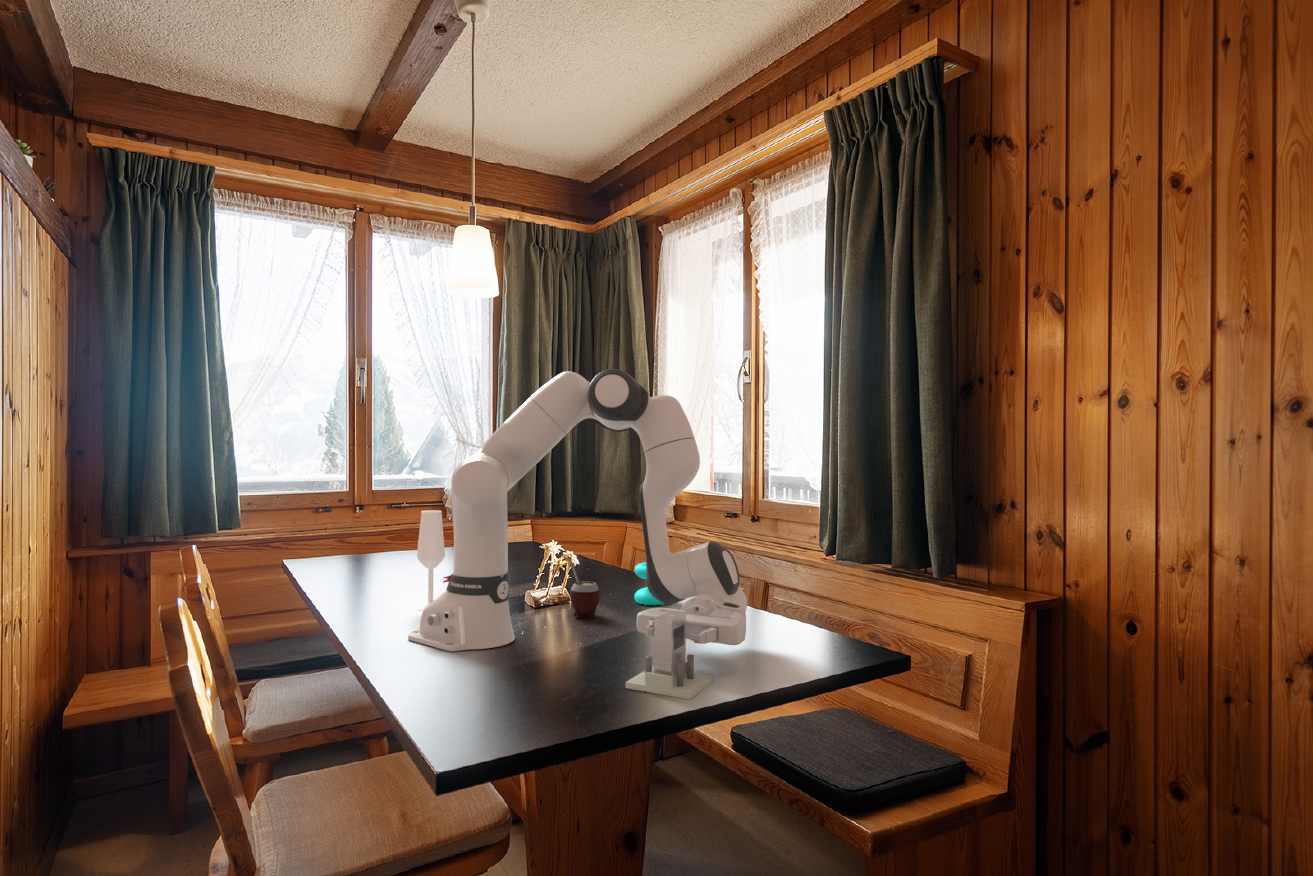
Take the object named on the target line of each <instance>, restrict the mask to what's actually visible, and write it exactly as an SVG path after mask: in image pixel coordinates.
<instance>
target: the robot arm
mask: <svg viewBox="0 0 1313 876" xmlns="http://www.w3.org/2000/svg"><path fill="white" fill-rule="evenodd" d="M680 403H681V402H679V400H677V398H676V397H674V396H671V395H666V394H660V395H653V396H649V392H648V390H647V389H646V388H644V387H643V386H642V385H641V384H640V383H639V382H638V381H637V380H636V379H635V378H634V377H633V376H632V375H631V374H629V373H628V372H626V371H624V370H622V369H617V368H611V369H605V370H602V371H600V372H599V373H598V374H596V375H595V376H594V377H593V379H592V380H591V382H590V381H589V380H587V379H586V378H585V377H583V376H582V375H580V374H579V373H577V372H573V371H570V370H568V371H567V370H566V371H562V372H560V373H559V374H557V375H556V376H554V377H552V379H550V380H549V381H547V382H546V383H545V384H543V385H542V386H540V388H538V389H537V390H536V391H535V392H534V393H532V394H531V395H530V397H528V398H527V399H526V401H524V402H523V403H522V404H521V405H520V406H519V407H518V408H517V409H516V410H515V411H514V412H513V413H511V415H510V416H509V417H508V418H506V420H505V421H503V422H502V423H501V424H500V426H499V427H497V429H496V430H495V431H493V433H492V434H491V435H490V436H489V437H488V438H487V439H486V440H485V441H484V443H482V444H481V445H480V446H479V448H477V450H476V451H474V452H473V453H472V454H471V455H470V456H469V457H467V458H464V459H463V460H462V461H461V462H459V463H458V465H456V467H455V469H454V470H453V472H452V475H451V482H450V483H451V487H450V489H451V508H452V509H451V511H452V512H451V513H452V515H451V516H452V526H453V527H452V528H453V572H452V573H451V574H450V575H448V576H444V577H442V579H444V580H443V581H442V583H448V584H447V586H446V590H445V591H444V592H443V593H442V594H440V595H439V596H438V597H437V598H436V599H433V600H434V601H433V602H432V603H431V604H429V605H428V606H427V607H426V608H425V609H424V610H423V611H422V612H421V616H420V623H419V628H417V629H415V630H412V631H411V632H410V633H409V634H408V635H407V640H408V641H412V642H416V643H419V644H423V645H426V646H431V647H433V648H437V649H441V650H443V651H448V652H459V651H465V650H466V651H467V650H483V649H490V648H497V647H502V646H505V645H508V644H510V643H512V642H513V641H514V640H515V639H516V637H515V634H514V630H513V627H512V626H513V625H512V621H511V615H510V613H511V612H510V605H509V604H510V603H509V595H510V587H511V582H510V578H511V577H510V572H509V571H508V567H509V566H508V563H509V561H508V560H509V559H508V556H509V551H508V550H509V547H508V546H509V543H508V541H509V531H508V526H509V525H508V523H509V522H508V492H509V491H510V490H511V489H512V488H513V487H514V486H516V484H517V483H518V482H519V481H520V480H521V479H523V477H524V476H525V475H527V473H529V472H530V471H531V469H533V468H534V467H535V466H536V465H537V464H538V463H539V462H541V460H542V459H543V458H544V457H545V456H546V455H547V454H548V453H549V452H551V450H552V449H553V448H554V447H556V445H557V444H559V443H560V441H562V439H563V438H564V437H566V436H567V435H568V434H569V432H570V431H572V429H573V428H574V427H575V426H577V425H578V424H579V423H580V422H582V421H584V420H586V419H588V420H590V421H591V422H593V423H595V424H596V425H599V426H601V427H602V428H604V429H606V430H609V431H611V432H616V433H617V432H618V433H619V432H620V433H621V432H623V433H624V432H627V431H629V430H632V429H633V430H634V431H635V432H636V433H637V435H638V438H639V439H640V442H641V447H642V451H643V454H644V456H645V466H646V469H645V477H644V481H643V482H642V483H641V484H640V486H639V507H640V508H639V509H640V516H641V526H642V533H643V535H642V536H643V541H644V542H643V543H644V549H645V550H644V551H645V552H644V553H645V562H646V579H645V581H646V587H648V590H649V592H650V594H651V595H652V596H653V597H654V598H656V599H657V600H658V601H660V602H662V603H664V604H666V606H672V605H675V604H677V603H680V602H682V601H685V602H684V603H683V605H682V606H681V608H680V609H678V608H670V607H669V608H668V607H660V606H658V607H651V608H648V609H645V610H642V611H639V612H638V613H637V614H636V630H637V631H638V633H640V634H644V635H645V637H648V638H649V637H651V638H654V618H656V617H658V616H660V615H662V614H664V613H666V612H668V611H670V612H678V613H686V640H690V641H692V642H693V643H695V644H699V645H703V644H709V643H713V644H714V643H715V644H721V645H728V646H737V645H741V644H742V643H743V642H744V641H746V634H747V633H746V632H747V614H746V613H747V608H748V601H747V600H748V599H747V596H746V593H745V592H744V590H743V589H742V587H740V573H739V568H738V565H737V562H736V560H735V557H734V556H733V554H732V553H731V551H729V550H728V549H727V548H726V547H725V546H723V545H722V544H721V543H719V542H717V541H714V540H710V541H707V542H704V543H701V544H697V545H694V546H692V547H689V548H686V549H683V550H680V551H676V552H673V553H672V552H671V551H670V543H669V538H668V529H667V521H666V513H667V510H668V507H669V506H670V504H671V503H672V501H673V500H674V499H675V498H676V497H677V496H678V495H679V494H680V493H681V492H682V491H683V490H684V489H686V488H687V487H688V486H689V485H691V483H692V481H694V479H695V477H696V476H697V474H698V472H699V469H700V465H701V459H700V452H699V448H698V445H697V442H696V439H695V435H694V433H693V432H694V431H693V429H692V426H691V424H690V422H689V419H688V417H687V414H686V413H685V411H684V409H683V407H682V405H681V404H680ZM686 599H688V600H686Z"/></svg>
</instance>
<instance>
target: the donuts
mask: <svg viewBox="0 0 1313 876" xmlns="http://www.w3.org/2000/svg"><path fill="white" fill-rule="evenodd" d="M634 573H635V575H636V576H637V577H638V578H639V579H640V578H641V579H643V580H646V561H645V562H641V563H637V565H635V567H634ZM634 600H635V602H636V603H637V604H639V605H641V604H643V605H642V606H647V605H655V606H654V607H657V606H656V605H662V606H665V604H664V603H662V602H660V601H658V600H657V599H656V598H654V597H653V596H652V595H651V594H650V592H649V590H648V587H647V586H646V587H642V588H640V589H638V590H637V591H636V592H635V593H634Z"/></svg>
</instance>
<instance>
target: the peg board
mask: <svg viewBox="0 0 1313 876" xmlns="http://www.w3.org/2000/svg"><path fill="white" fill-rule="evenodd" d="M686 656H687V657H686V673H685V676H684V662H683V661H677V682H676V683H674V684H673V676H671V675H664V674H658V673H653V656H649V655H646V656H644V657H645V659H644V664H645V665H644V670H643V671H641V672H640V673H638V674H636V675H635V676H633V677H632V678H630V679H628V680H627V681H625V689H629V690H635V691H639V692H645V691H646V693H651V694H658V695H663V696H669V697H675V698H680V699H685V700H691V699H692V698H693V697H695V696H696V695H697V694H699V693H700V692H701V691H703V690H704V689H705V688H706V687H707V686H709V685H710V684H711V683H713V676H712V675H706V674H701V673H700V674H699V673H695V654H687V655H686ZM703 688H704V689H703ZM699 691H700V692H699ZM698 692H699V693H698Z"/></svg>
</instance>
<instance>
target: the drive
mask: <svg viewBox="0 0 1313 876" xmlns="http://www.w3.org/2000/svg"><path fill="white" fill-rule="evenodd" d="M686 645H687V639H686V613H678V612H670V611H668V612H666V613H664V614H662V615H660V616H658V617H656V618H654V637H653V663H652V667H653V673H658V674H664V675H671V676H673V684H674V683H676V682H677V661H683V662H684V676H685V673H686V662H687V657H686V656H687V655H686V654H687V653H686V651H687V646H686Z"/></svg>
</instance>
